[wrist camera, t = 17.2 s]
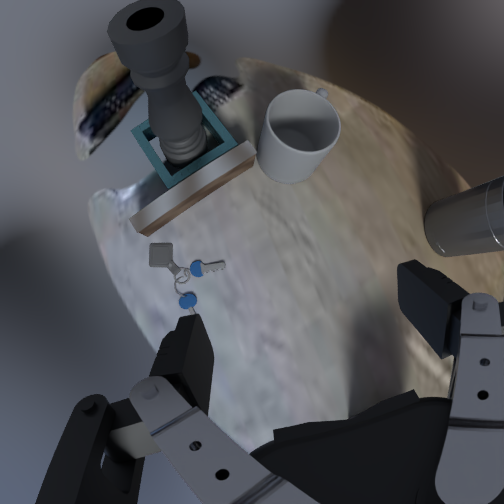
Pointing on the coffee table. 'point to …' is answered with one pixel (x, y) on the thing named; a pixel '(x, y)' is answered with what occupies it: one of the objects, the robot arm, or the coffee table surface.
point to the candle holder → (162, 74)
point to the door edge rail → (193, 189)
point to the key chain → (179, 269)
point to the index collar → (226, 144)
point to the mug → (297, 134)
